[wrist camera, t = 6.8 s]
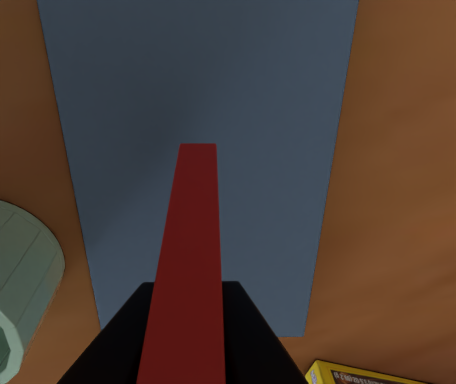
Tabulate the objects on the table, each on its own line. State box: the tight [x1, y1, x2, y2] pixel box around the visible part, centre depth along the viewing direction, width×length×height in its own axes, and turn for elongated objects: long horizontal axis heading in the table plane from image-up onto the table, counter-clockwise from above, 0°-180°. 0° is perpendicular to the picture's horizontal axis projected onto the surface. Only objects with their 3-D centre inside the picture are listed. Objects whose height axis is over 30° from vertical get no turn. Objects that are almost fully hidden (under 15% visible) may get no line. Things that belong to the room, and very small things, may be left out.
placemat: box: [37, 0, 359, 337], centre depth 16 cm, size 21×11×1 cm, turn 179°
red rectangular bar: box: [136, 143, 226, 384], centre depth 9 cm, size 2×1×10 cm, turn 179°
